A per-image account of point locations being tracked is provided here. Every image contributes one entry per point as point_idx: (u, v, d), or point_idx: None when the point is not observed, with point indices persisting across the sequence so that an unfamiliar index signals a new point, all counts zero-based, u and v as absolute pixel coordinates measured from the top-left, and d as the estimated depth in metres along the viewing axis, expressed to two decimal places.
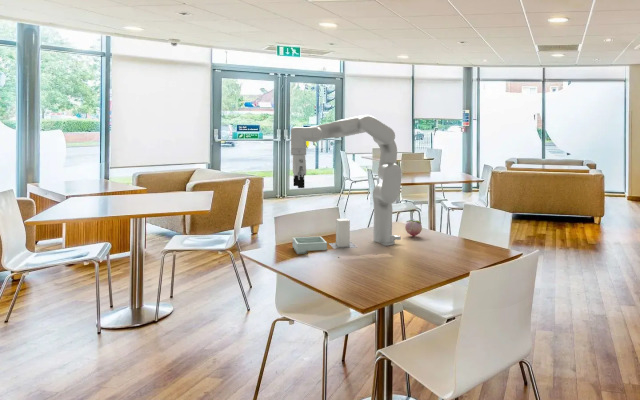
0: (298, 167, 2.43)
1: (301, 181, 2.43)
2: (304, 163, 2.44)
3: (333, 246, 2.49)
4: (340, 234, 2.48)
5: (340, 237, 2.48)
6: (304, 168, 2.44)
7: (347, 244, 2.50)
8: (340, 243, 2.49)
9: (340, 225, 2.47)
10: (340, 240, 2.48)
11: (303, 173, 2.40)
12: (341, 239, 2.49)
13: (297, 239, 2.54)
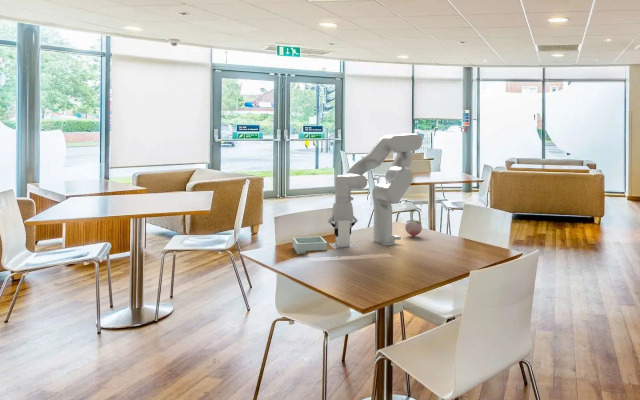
0: None
1: None
2: None
3: (333, 246, 2.49)
4: (340, 234, 2.48)
5: (340, 237, 2.48)
6: None
7: (347, 244, 2.50)
8: (340, 243, 2.49)
9: (340, 225, 2.47)
10: (340, 240, 2.48)
11: (356, 221, 2.52)
12: (341, 239, 2.49)
13: (297, 239, 2.54)
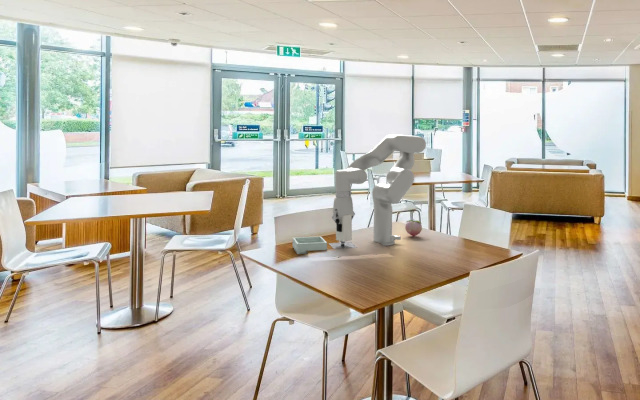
0: None
1: None
2: None
3: (333, 246, 2.49)
4: (345, 229, 2.48)
5: (345, 232, 2.48)
6: None
7: (350, 238, 2.51)
8: (345, 238, 2.48)
9: (344, 220, 2.47)
10: (345, 235, 2.48)
11: None
12: (346, 233, 2.49)
13: (297, 239, 2.54)
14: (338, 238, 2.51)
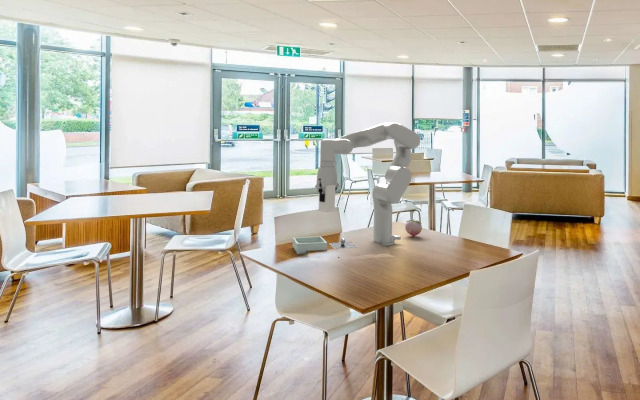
0: None
1: None
2: None
3: (333, 246, 2.49)
4: (327, 199, 2.44)
5: (327, 202, 2.44)
6: None
7: (333, 209, 2.47)
8: (327, 208, 2.44)
9: (328, 190, 2.43)
10: (327, 205, 2.44)
11: None
12: (328, 204, 2.44)
13: (297, 239, 2.54)
14: (320, 209, 2.47)
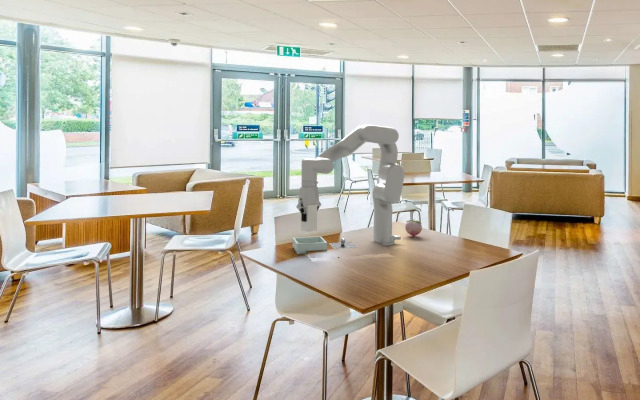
0: None
1: None
2: None
3: (333, 246, 2.49)
4: (309, 219, 2.43)
5: (309, 222, 2.43)
6: None
7: (315, 228, 2.46)
8: (309, 228, 2.44)
9: (309, 209, 2.43)
10: (309, 225, 2.44)
11: None
12: (310, 223, 2.44)
13: (297, 239, 2.54)
14: (303, 228, 2.46)
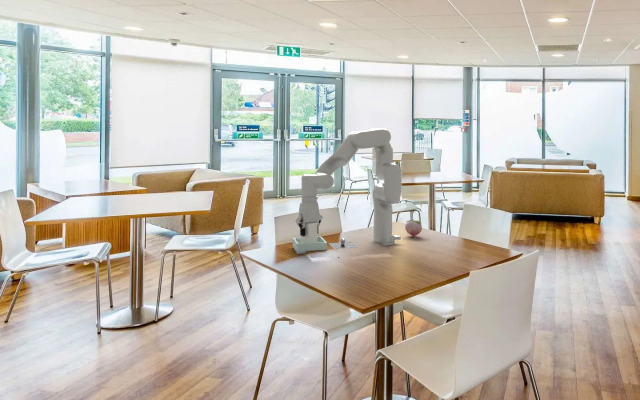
0: None
1: None
2: None
3: (333, 246, 2.49)
4: (310, 237, 2.44)
5: (310, 240, 2.45)
6: None
7: None
8: None
9: (310, 228, 2.44)
10: None
11: None
12: (311, 241, 2.45)
13: (297, 239, 2.54)
14: None
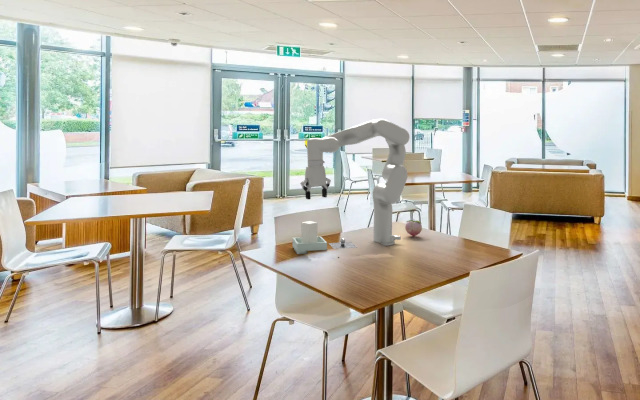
0: None
1: None
2: None
3: (333, 246, 2.49)
4: (310, 237, 2.44)
5: (310, 240, 2.45)
6: None
7: None
8: None
9: (310, 228, 2.44)
10: None
11: None
12: (311, 241, 2.45)
13: (297, 239, 2.54)
14: None
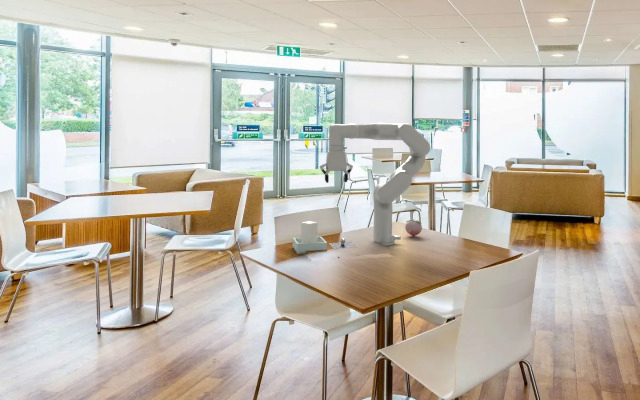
0: None
1: None
2: None
3: (333, 246, 2.49)
4: (310, 237, 2.44)
5: (310, 240, 2.45)
6: None
7: None
8: None
9: (310, 228, 2.44)
10: None
11: (352, 167, 2.58)
12: (311, 241, 2.45)
13: (297, 239, 2.54)
14: None
